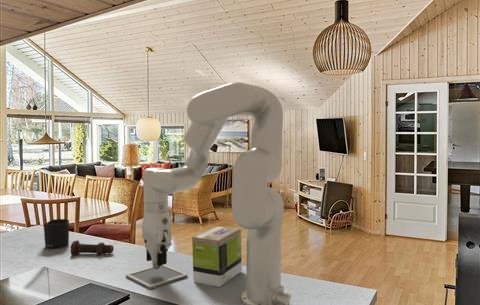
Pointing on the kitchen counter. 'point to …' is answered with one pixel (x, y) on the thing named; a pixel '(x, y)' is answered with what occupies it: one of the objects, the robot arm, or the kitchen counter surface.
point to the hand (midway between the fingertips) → (156, 261)
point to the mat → (155, 276)
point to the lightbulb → (153, 252)
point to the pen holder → (56, 233)
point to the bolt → (90, 248)
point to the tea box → (216, 255)
